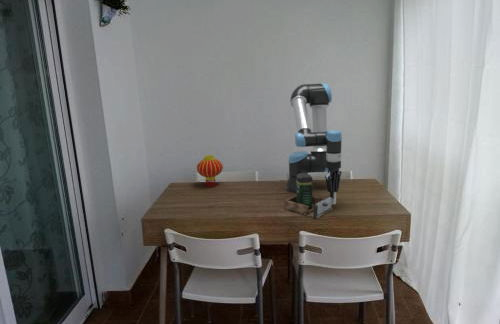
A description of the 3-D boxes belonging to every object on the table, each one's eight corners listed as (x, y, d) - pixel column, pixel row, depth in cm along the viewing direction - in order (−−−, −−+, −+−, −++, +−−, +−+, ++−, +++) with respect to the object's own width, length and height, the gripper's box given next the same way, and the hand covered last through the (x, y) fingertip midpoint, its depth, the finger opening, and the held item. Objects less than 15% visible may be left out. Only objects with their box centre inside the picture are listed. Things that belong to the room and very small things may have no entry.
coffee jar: (314, 209, 191) (314, 175, 187) (299, 210, 190) (299, 177, 186) (308, 203, 200) (308, 171, 196) (294, 204, 199) (294, 172, 195)
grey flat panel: (315, 214, 183) (315, 203, 182) (329, 207, 192) (329, 196, 191) (319, 215, 182) (319, 204, 180) (333, 208, 191) (333, 197, 189)
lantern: (199, 190, 233) (196, 144, 226) (197, 183, 249) (193, 140, 242) (225, 187, 236) (223, 142, 229) (221, 180, 253) (218, 138, 246)
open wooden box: (284, 209, 195) (284, 198, 194) (301, 201, 206) (301, 190, 204) (316, 218, 181) (316, 206, 180) (332, 209, 192) (333, 198, 190)
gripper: (333, 164, 180) (332, 208, 186) (346, 159, 189) (345, 201, 195) (320, 162, 185) (320, 205, 191) (333, 157, 194) (333, 198, 200)
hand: (332, 203), depth 193 cm, fingers closed
